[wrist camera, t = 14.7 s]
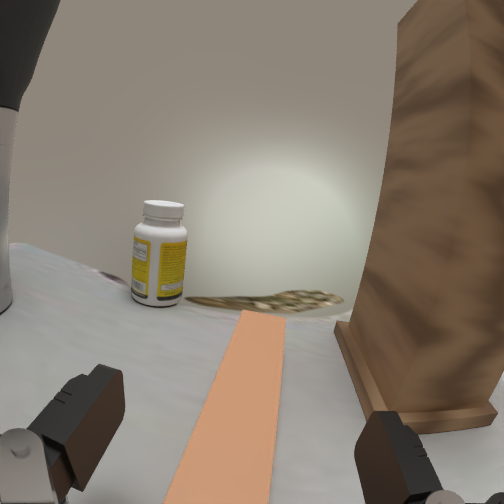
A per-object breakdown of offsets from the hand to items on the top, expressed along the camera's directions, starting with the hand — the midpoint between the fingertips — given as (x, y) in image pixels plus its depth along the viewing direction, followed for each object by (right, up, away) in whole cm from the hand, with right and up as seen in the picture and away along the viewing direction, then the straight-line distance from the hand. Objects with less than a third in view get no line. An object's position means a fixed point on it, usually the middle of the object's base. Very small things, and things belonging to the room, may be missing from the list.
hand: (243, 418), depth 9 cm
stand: (+13, -6, +15) cm, 21 cm away
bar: (-1, -6, +6) cm, 8 cm away
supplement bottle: (-10, 0, +23) cm, 25 cm away
